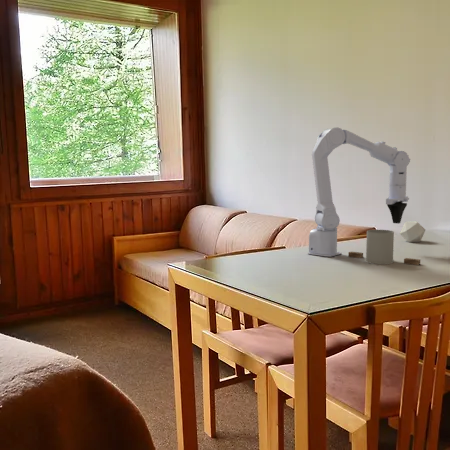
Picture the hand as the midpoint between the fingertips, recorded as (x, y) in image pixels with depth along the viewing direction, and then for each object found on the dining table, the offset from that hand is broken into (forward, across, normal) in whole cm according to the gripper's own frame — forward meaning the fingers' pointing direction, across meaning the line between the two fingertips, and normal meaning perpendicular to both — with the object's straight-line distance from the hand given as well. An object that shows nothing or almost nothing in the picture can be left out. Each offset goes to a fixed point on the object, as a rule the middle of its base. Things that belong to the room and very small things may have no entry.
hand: (396, 223), depth 180 cm
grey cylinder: (+11, -20, -3) cm, 22 cm away
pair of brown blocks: (+10, -17, -3) cm, 20 cm away
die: (+11, +27, +5) cm, 30 cm away
